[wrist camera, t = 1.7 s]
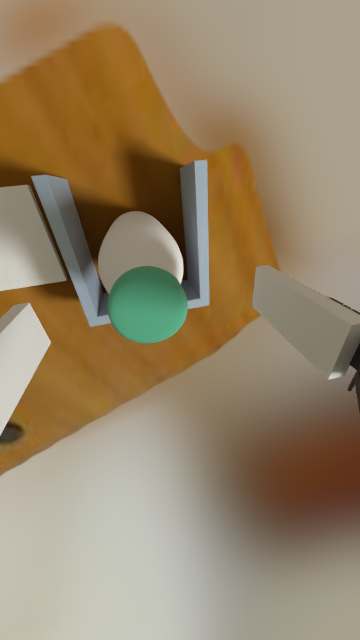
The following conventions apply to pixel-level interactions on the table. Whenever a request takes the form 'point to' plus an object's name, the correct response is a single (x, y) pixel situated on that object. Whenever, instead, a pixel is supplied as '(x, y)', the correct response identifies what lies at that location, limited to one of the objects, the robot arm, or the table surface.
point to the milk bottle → (142, 278)
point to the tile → (25, 242)
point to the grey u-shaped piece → (79, 258)
